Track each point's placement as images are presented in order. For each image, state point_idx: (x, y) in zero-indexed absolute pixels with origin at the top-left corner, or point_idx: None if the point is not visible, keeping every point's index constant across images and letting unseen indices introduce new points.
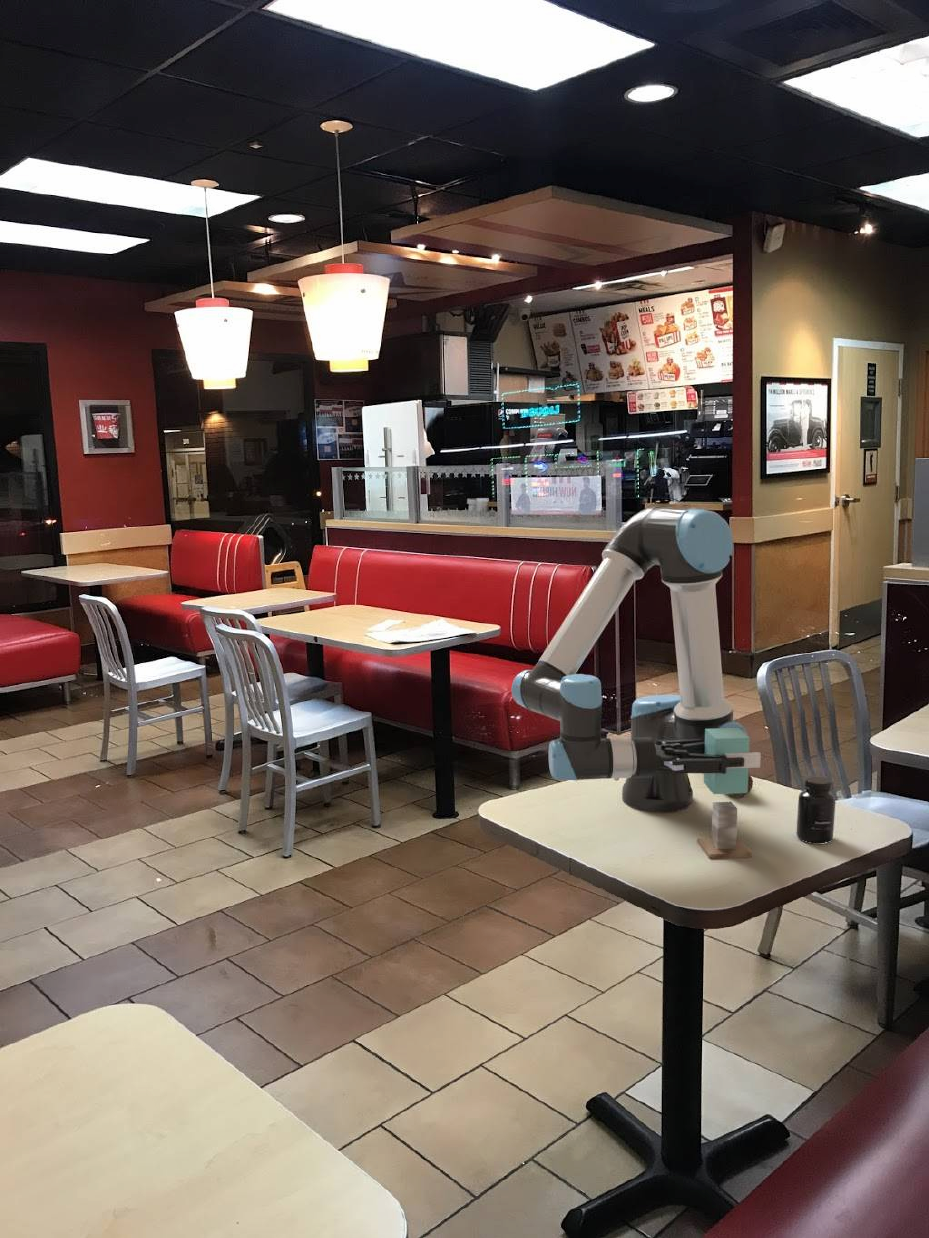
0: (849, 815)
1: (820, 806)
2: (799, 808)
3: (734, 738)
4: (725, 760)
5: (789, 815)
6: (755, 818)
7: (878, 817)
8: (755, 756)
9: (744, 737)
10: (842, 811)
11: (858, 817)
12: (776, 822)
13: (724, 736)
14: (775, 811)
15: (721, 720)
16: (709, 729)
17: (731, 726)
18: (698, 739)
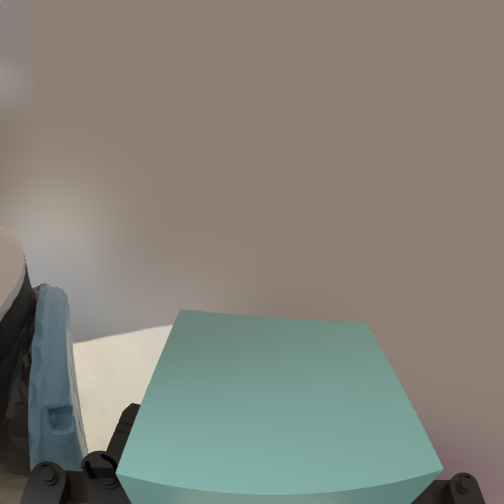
0: (149, 343)
1: None
2: None
3: (394, 374)
4: (470, 475)
5: (114, 395)
6: (101, 441)
7: (167, 326)
8: None
9: (368, 336)
10: (134, 342)
11: (159, 339)
12: None
13: (372, 413)
14: (91, 402)
15: (23, 307)
16: (152, 453)
17: (64, 313)
18: (40, 496)
